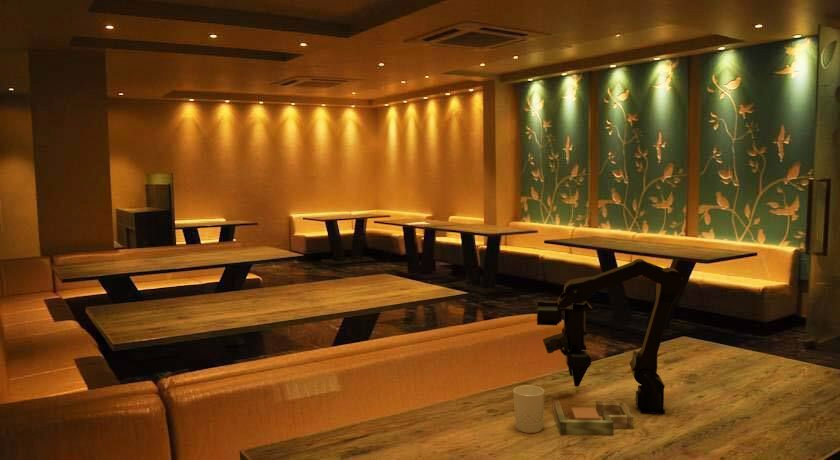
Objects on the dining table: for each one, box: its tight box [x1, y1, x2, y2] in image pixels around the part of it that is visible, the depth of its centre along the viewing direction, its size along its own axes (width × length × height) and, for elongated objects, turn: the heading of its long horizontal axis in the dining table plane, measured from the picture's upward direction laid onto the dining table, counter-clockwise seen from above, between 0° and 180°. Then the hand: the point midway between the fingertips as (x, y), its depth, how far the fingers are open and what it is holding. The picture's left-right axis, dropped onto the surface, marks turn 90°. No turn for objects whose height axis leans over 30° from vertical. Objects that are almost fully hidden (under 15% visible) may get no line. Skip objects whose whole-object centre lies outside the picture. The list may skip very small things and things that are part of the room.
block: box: [570, 407, 601, 420], centre depth 171 cm, size 6×7×4 cm
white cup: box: [512, 385, 545, 434], centre depth 171 cm, size 8×8×10 cm
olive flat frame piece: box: [552, 400, 634, 436], centre depth 174 cm, size 19×16×3 cm
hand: (574, 380), depth 185 cm, fingers open, 9 cm apart
